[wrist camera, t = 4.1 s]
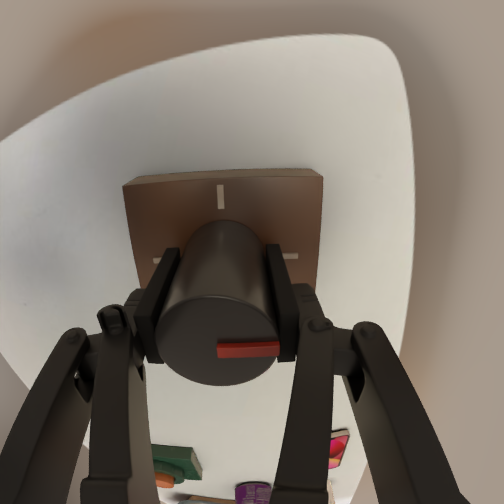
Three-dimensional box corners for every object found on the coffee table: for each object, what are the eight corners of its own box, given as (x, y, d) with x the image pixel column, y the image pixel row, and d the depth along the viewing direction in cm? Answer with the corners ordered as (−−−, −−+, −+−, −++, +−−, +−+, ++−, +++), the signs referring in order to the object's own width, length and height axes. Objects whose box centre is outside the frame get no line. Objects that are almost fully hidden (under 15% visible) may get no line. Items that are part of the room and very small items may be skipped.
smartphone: (298, 474, 39) (299, 443, 32) (298, 470, 40) (298, 437, 33) (339, 466, 39) (351, 432, 32) (338, 462, 40) (350, 427, 33)
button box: (142, 464, 38) (139, 481, 35) (123, 439, 34) (118, 460, 30) (202, 470, 38) (201, 489, 35) (192, 447, 34) (190, 470, 31)
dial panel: (157, 298, 23) (148, 322, 20) (137, 176, 19) (120, 186, 16) (304, 294, 23) (312, 317, 20) (311, 168, 19) (324, 177, 16)
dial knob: (189, 292, 19) (166, 390, 12) (180, 221, 17) (138, 301, 9) (264, 290, 19) (278, 389, 12) (264, 218, 17) (283, 297, 10)
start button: (153, 477, 34) (152, 486, 32) (146, 469, 32) (144, 478, 30) (177, 480, 34) (176, 489, 32) (171, 472, 32) (170, 482, 31)
